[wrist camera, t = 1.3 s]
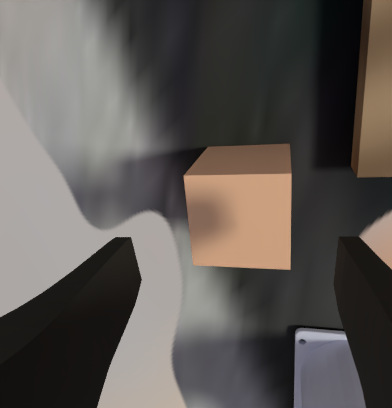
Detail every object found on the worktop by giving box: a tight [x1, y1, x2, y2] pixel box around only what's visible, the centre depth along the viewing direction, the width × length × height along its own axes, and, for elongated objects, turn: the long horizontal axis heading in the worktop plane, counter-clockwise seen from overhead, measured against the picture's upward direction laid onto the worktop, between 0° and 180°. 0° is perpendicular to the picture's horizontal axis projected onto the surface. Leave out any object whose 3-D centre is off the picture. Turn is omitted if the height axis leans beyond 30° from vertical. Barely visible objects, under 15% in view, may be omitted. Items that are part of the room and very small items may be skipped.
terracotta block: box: [184, 144, 291, 270], centre depth 20 cm, size 5×5×6 cm
